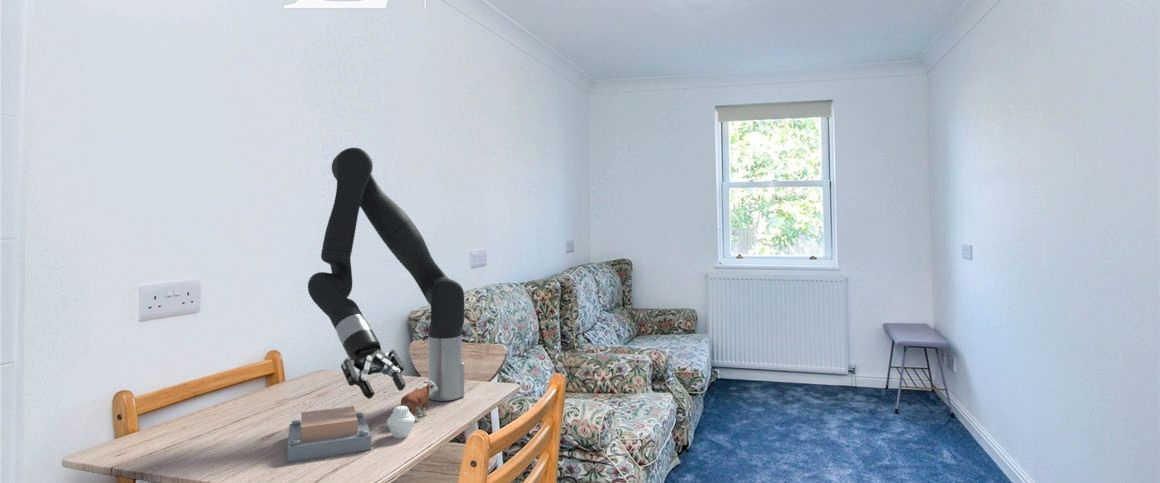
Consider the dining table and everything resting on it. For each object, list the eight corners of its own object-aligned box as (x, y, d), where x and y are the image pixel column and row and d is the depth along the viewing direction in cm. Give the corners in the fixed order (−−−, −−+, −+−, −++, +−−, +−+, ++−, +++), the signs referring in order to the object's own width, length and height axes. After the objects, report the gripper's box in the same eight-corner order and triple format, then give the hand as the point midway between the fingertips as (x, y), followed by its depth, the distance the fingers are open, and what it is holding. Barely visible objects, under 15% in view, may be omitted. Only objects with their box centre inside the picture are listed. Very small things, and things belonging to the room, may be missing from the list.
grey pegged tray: (364, 426, 140) (364, 401, 140) (371, 449, 126) (371, 421, 125) (289, 437, 133) (289, 410, 133) (287, 462, 119) (287, 432, 119)
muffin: (384, 434, 135) (384, 403, 135) (411, 429, 138) (411, 400, 138) (389, 442, 130) (389, 411, 130) (417, 437, 133) (417, 407, 133)
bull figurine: (440, 410, 153) (440, 379, 153) (409, 426, 140) (409, 392, 140) (426, 408, 154) (426, 377, 154) (394, 424, 142) (394, 391, 142)
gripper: (337, 332, 135) (367, 389, 129) (389, 324, 147) (419, 376, 141) (324, 352, 138) (353, 409, 132) (376, 343, 150) (405, 395, 144)
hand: (387, 392), depth 136 cm, fingers open, 8 cm apart
